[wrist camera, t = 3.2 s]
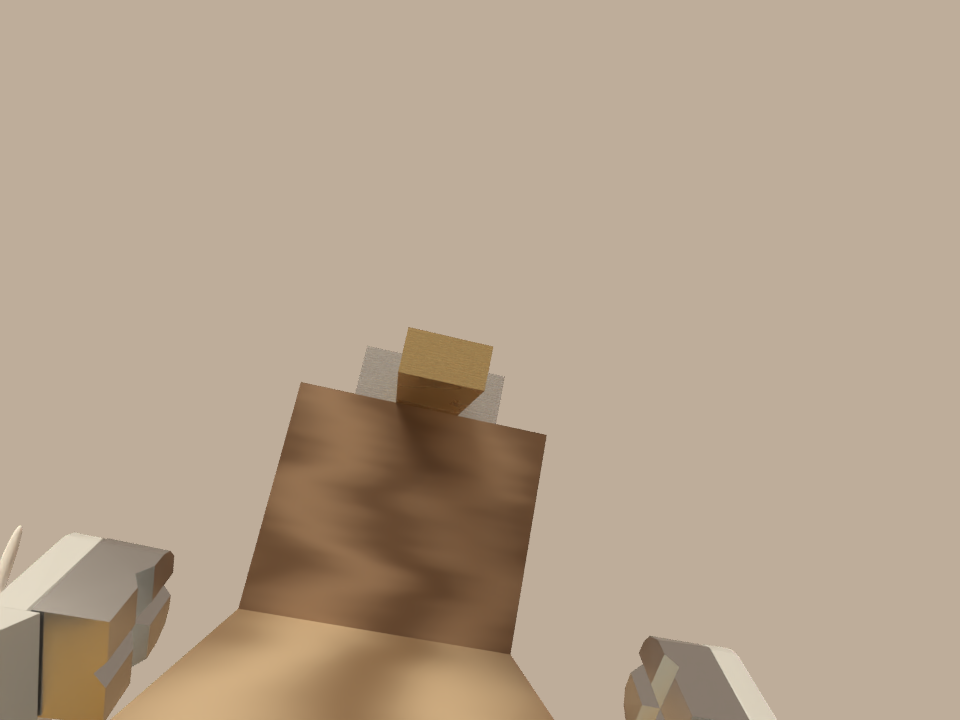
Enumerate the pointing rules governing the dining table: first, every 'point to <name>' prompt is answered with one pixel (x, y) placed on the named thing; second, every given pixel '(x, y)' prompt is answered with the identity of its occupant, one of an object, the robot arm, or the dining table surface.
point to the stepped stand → (374, 576)
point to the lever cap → (434, 376)
